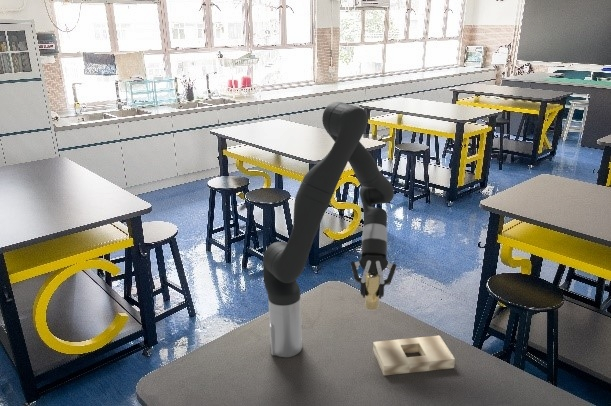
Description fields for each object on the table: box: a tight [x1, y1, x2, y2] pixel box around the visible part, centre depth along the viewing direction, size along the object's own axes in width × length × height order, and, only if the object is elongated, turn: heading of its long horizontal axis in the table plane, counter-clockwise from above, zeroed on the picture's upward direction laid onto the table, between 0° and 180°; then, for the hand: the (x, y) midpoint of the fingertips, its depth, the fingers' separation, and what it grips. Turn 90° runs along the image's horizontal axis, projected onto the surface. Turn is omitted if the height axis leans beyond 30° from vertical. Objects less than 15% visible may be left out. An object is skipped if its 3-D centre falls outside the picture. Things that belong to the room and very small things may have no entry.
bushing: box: [364, 272, 380, 311], centre depth 142 cm, size 4×4×10 cm
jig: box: [372, 335, 456, 376], centre depth 138 cm, size 20×11×3 cm, turn 97°
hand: (372, 297), depth 140 cm, fingers closed on bushing, 4 cm apart
